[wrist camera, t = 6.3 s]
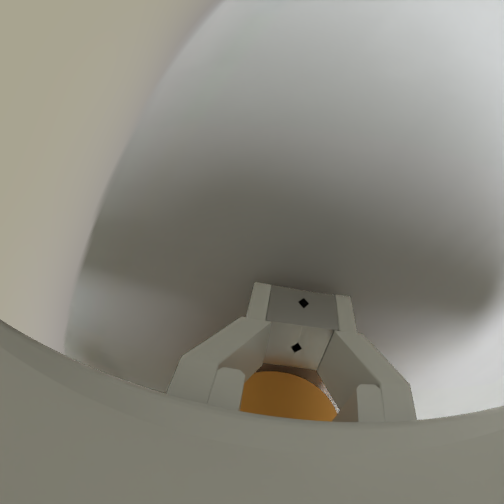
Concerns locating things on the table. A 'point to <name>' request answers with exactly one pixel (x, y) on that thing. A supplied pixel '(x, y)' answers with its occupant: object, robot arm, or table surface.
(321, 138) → the table surface
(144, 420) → the robot arm
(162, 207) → the table surface
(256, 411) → the ball
